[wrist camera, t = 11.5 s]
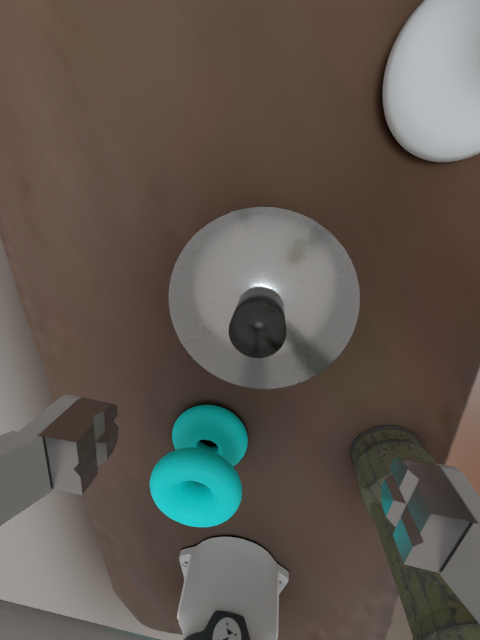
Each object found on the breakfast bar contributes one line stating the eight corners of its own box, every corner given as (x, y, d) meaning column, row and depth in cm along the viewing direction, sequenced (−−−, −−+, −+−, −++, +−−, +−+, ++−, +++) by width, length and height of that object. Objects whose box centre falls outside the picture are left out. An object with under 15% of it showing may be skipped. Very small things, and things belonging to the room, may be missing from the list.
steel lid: (332, 391, 22) (348, 441, 17) (173, 367, 23) (146, 409, 18) (377, 218, 17) (418, 220, 12) (174, 197, 18) (139, 191, 13)
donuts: (227, 461, 26) (249, 532, 29) (239, 395, 35) (255, 455, 38) (131, 468, 28) (162, 534, 31) (167, 404, 37) (188, 460, 40)
